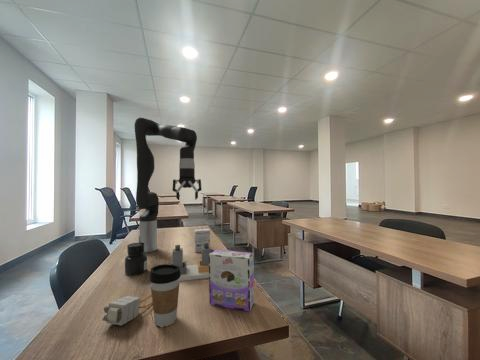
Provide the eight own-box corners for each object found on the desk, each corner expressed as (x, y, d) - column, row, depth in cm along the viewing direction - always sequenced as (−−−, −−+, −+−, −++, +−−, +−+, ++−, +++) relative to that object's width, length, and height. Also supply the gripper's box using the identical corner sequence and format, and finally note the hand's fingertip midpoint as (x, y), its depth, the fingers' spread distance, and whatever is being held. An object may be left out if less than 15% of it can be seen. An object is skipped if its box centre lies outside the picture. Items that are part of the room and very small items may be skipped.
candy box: (254, 302, 73) (254, 252, 73) (249, 312, 67) (249, 258, 67) (216, 295, 77) (215, 248, 77) (208, 304, 72) (208, 253, 72)
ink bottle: (151, 271, 98) (150, 244, 98) (130, 278, 92) (129, 249, 92) (141, 266, 105) (141, 240, 105) (121, 271, 98) (121, 244, 98)
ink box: (209, 248, 131) (208, 228, 131) (210, 251, 126) (210, 230, 126) (194, 249, 129) (194, 229, 129) (194, 252, 124) (194, 231, 124)
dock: (162, 282, 87) (162, 250, 87) (165, 270, 99) (165, 242, 99) (221, 276, 93) (220, 246, 93) (217, 265, 104) (217, 239, 104)
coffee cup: (154, 312, 68) (154, 263, 68) (183, 311, 68) (182, 261, 68) (145, 331, 59) (145, 274, 59) (178, 329, 60) (177, 273, 60)
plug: (202, 270, 95) (201, 245, 95) (201, 267, 99) (201, 242, 99) (211, 270, 96) (211, 244, 96) (210, 266, 100) (210, 241, 100)
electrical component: (155, 297, 83) (156, 282, 84) (169, 299, 82) (170, 284, 83) (101, 324, 60) (104, 304, 61) (119, 327, 59) (122, 306, 60)
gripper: (200, 168, 119) (201, 198, 119) (172, 168, 116) (173, 199, 116) (201, 167, 112) (201, 200, 112) (171, 167, 109) (172, 200, 109)
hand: (187, 199), depth 114 cm, fingers open, 8 cm apart
